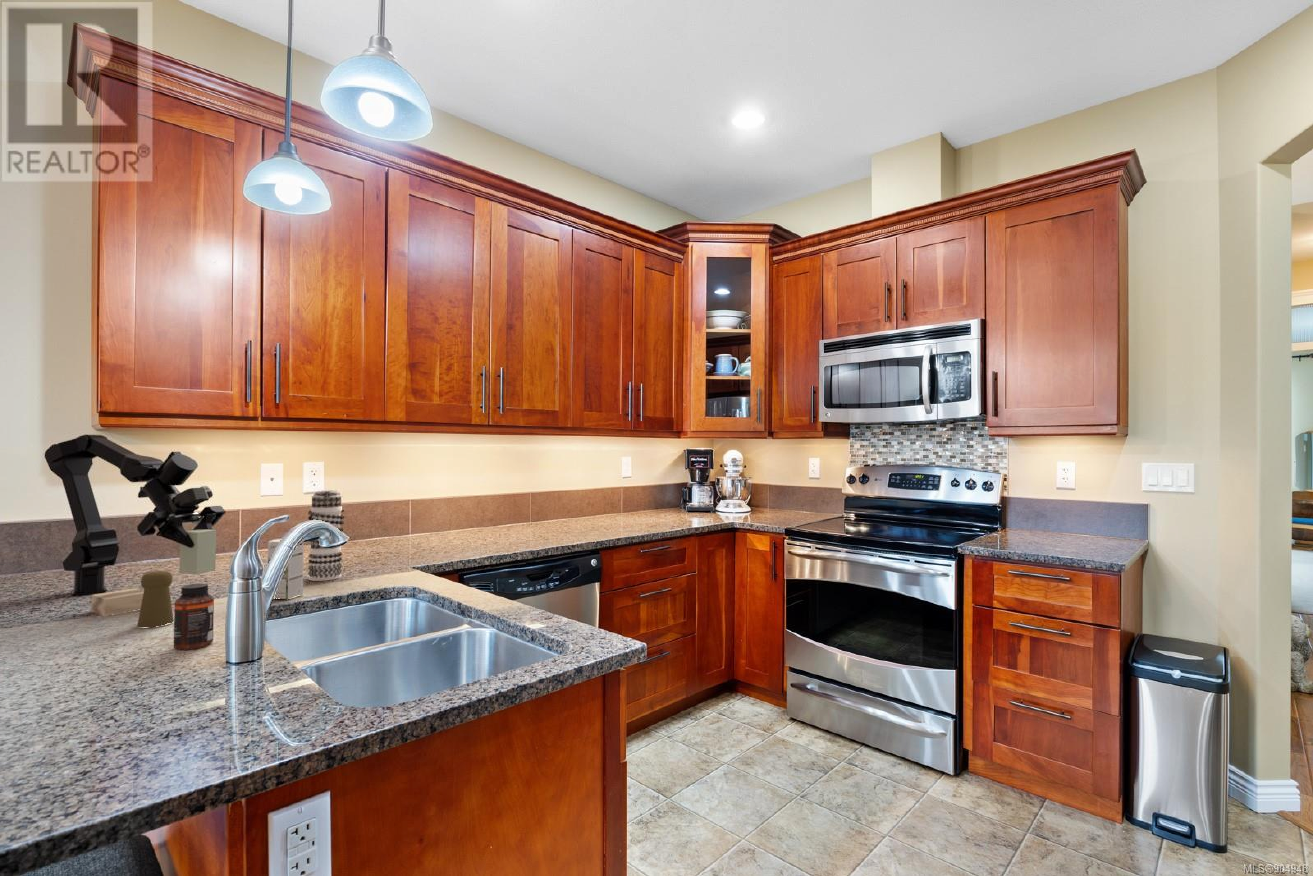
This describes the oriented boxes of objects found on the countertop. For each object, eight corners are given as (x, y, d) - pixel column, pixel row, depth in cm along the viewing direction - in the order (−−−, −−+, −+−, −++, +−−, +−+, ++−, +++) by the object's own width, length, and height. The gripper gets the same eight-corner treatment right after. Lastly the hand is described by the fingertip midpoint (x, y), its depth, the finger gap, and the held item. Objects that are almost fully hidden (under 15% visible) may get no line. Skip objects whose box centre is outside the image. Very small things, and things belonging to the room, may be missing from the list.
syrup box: (303, 595, 155) (305, 537, 156) (287, 600, 150) (288, 541, 150) (282, 594, 156) (284, 537, 156) (265, 600, 150) (267, 540, 150)
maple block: (91, 612, 138) (91, 594, 138) (135, 605, 145) (135, 588, 145) (105, 617, 134) (105, 599, 134) (149, 610, 141) (150, 592, 141)
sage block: (179, 573, 148) (180, 531, 148) (198, 569, 153) (199, 529, 153) (196, 574, 147) (197, 532, 147) (215, 570, 152) (216, 529, 152)
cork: (180, 622, 130) (181, 570, 130) (146, 630, 125) (148, 575, 125) (164, 619, 133) (165, 568, 133) (130, 626, 127) (132, 572, 127)
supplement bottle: (220, 643, 116) (222, 583, 117) (187, 653, 111) (189, 590, 111) (198, 639, 118) (200, 581, 119) (165, 649, 113) (167, 587, 113)
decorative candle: (308, 576, 179) (310, 490, 180) (343, 573, 183) (345, 489, 183) (305, 582, 171) (307, 492, 171) (342, 579, 175) (344, 491, 175)
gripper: (148, 477, 142) (186, 526, 140) (220, 474, 160) (255, 518, 158) (120, 510, 143) (157, 560, 141) (194, 504, 162) (228, 547, 159)
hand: (202, 545), depth 150 cm, fingers closed on sage block, 5 cm apart
